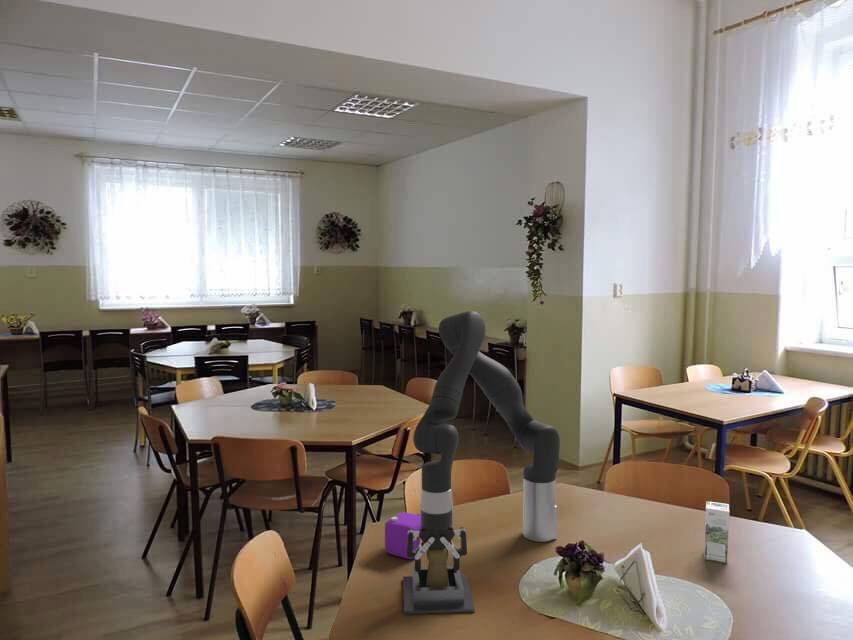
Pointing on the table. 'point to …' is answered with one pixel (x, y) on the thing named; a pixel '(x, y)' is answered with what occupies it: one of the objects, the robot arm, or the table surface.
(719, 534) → the syrup box
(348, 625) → the table surface
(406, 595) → the collar mount
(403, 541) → the toy camera
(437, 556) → the cork
